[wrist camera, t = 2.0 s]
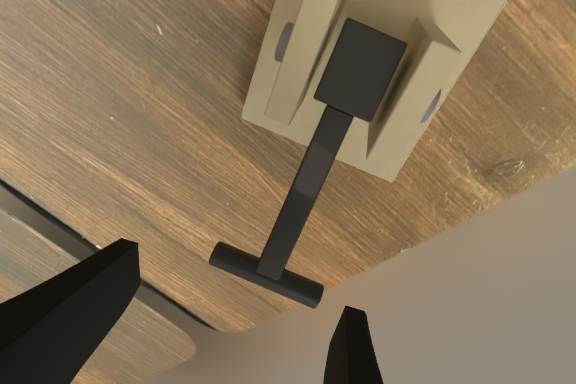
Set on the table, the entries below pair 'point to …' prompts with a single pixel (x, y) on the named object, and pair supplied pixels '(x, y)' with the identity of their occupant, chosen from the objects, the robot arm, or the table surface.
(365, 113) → the lever
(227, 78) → the table surface
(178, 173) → the table surface
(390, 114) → the bracket
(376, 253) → the table surface
